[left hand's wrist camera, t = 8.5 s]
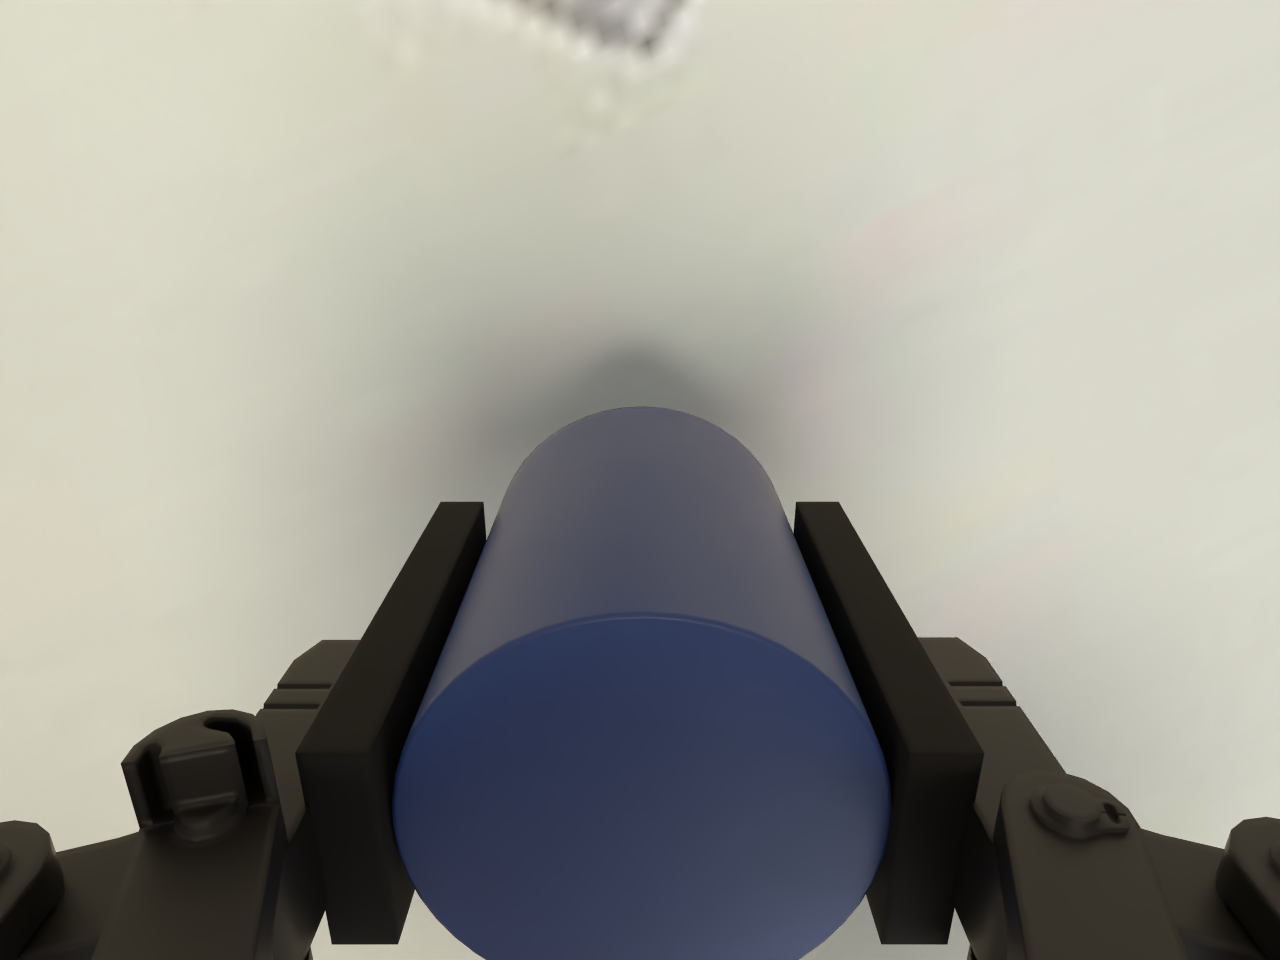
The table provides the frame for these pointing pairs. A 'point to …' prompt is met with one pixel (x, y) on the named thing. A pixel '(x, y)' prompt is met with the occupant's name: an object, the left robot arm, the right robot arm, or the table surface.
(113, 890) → the left robot arm
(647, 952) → the can
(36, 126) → the table surface
